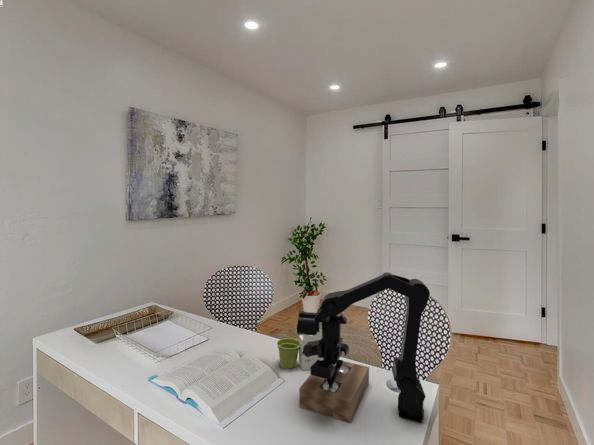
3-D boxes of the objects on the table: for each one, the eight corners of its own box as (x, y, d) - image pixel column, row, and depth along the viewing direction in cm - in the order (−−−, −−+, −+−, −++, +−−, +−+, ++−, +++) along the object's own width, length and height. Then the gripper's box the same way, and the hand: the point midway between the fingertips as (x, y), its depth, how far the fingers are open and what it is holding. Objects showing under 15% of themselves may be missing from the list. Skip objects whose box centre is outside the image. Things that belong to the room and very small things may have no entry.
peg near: (340, 401, 99) (340, 383, 98) (335, 410, 94) (335, 391, 94) (325, 397, 101) (326, 379, 100) (320, 406, 96) (320, 387, 96)
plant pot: (301, 360, 126) (301, 338, 126) (299, 372, 117) (300, 349, 116) (277, 358, 127) (278, 337, 126) (274, 370, 117) (275, 347, 117)
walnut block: (368, 384, 109) (369, 367, 109) (350, 423, 89) (350, 402, 89) (325, 373, 116) (325, 357, 116) (299, 407, 96) (299, 388, 96)
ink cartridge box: (319, 361, 125) (319, 324, 124) (323, 367, 120) (324, 329, 119) (298, 364, 122) (298, 327, 121) (302, 371, 117) (302, 332, 117)
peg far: (350, 384, 109) (350, 367, 108) (346, 391, 104) (346, 374, 104) (337, 380, 111) (337, 364, 110) (332, 387, 106) (332, 370, 106)
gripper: (318, 321, 108) (317, 366, 109) (293, 342, 92) (293, 394, 92) (349, 327, 104) (349, 373, 104) (330, 350, 87) (329, 405, 88)
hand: (330, 385), depth 97 cm, fingers closed, pressing on peg near
